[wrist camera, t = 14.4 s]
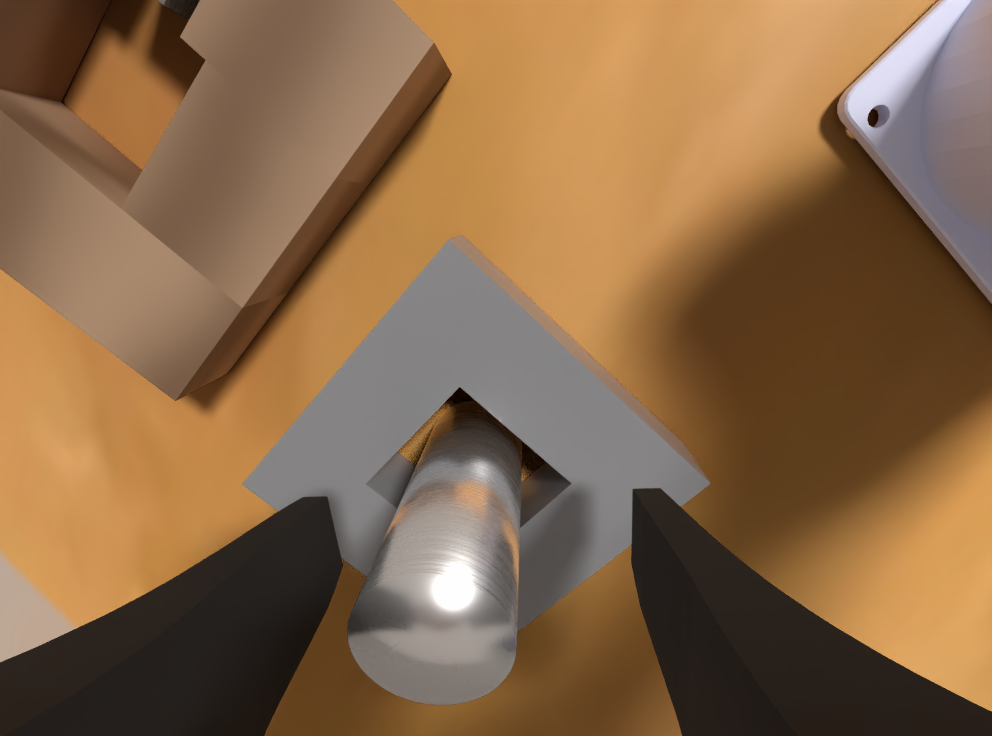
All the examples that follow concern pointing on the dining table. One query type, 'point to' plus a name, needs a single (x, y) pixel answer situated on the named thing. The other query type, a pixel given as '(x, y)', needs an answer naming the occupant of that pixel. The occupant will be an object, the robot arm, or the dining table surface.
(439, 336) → the block
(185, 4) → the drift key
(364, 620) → the peg
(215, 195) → the socket block
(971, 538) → the dining table surface
